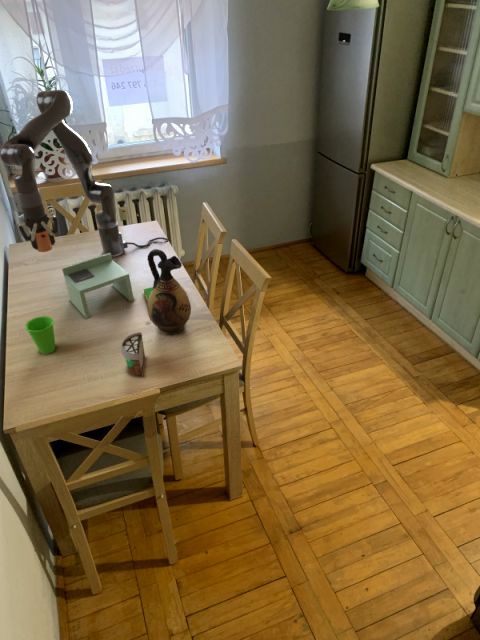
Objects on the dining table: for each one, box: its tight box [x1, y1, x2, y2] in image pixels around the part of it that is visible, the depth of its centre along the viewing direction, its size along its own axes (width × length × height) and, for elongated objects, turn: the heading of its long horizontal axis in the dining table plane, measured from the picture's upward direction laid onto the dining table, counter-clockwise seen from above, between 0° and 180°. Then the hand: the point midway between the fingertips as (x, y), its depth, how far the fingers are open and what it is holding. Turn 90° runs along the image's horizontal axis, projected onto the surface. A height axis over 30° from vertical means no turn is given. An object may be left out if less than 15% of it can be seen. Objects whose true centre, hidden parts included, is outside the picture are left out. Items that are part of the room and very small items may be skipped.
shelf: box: [61, 253, 135, 319], centre depth 182 cm, size 20×16×15 cm
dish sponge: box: [143, 286, 153, 302], centre depth 185 cm, size 7×14×2 cm, turn 22°
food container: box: [120, 331, 146, 377], centre depth 149 cm, size 12×6×10 cm, turn 5°
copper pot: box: [34, 229, 54, 253], centre depth 171 cm, size 5×8×8 cm
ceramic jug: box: [146, 248, 192, 336], centre depth 162 cm, size 17×15×30 cm
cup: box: [24, 315, 56, 355], centre depth 158 cm, size 9×9×11 cm
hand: (44, 246), depth 173 cm, fingers closed on copper pot, 5 cm apart
